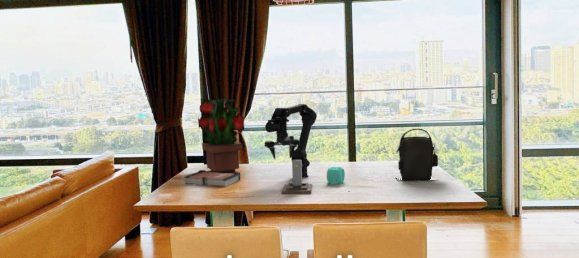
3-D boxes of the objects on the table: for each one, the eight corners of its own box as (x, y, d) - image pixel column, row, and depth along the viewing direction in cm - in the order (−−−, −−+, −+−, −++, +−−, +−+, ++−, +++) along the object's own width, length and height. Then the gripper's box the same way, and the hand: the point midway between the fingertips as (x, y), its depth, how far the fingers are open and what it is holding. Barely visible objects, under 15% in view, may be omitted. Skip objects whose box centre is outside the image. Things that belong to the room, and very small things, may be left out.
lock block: (293, 186, 245) (292, 159, 243) (302, 186, 244) (301, 159, 243) (292, 188, 240) (291, 161, 238) (301, 188, 239) (300, 161, 238)
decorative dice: (330, 180, 263) (330, 166, 262) (344, 181, 260) (344, 167, 259) (326, 183, 255) (326, 169, 254) (341, 184, 253) (340, 169, 252)
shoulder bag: (435, 177, 264) (436, 127, 261) (440, 180, 255) (440, 128, 252) (394, 177, 265) (394, 128, 262) (397, 181, 256) (397, 129, 253)
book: (184, 184, 265) (183, 176, 264) (201, 178, 281) (200, 170, 280) (225, 187, 255) (224, 178, 254) (240, 180, 271) (240, 172, 270)
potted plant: (200, 170, 303) (197, 99, 298) (233, 166, 313) (230, 98, 308) (211, 176, 283) (207, 101, 278) (246, 172, 293) (243, 99, 288)
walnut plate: (284, 187, 250) (284, 182, 250) (312, 186, 249) (312, 182, 249) (282, 193, 236) (281, 189, 236) (311, 193, 235) (311, 188, 235)
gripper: (270, 133, 249) (271, 162, 251) (303, 130, 256) (303, 159, 257) (263, 131, 260) (264, 159, 261) (295, 128, 266) (296, 156, 268)
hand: (282, 158), depth 262 cm, fingers open, 9 cm apart
